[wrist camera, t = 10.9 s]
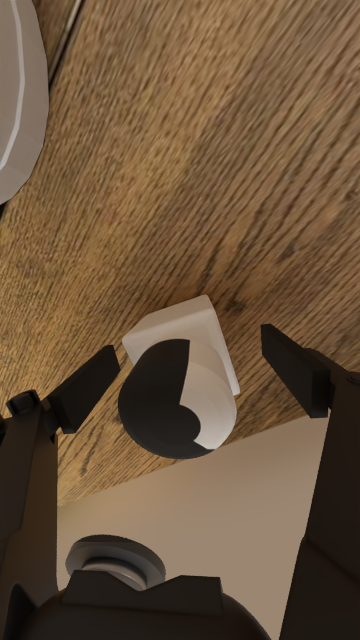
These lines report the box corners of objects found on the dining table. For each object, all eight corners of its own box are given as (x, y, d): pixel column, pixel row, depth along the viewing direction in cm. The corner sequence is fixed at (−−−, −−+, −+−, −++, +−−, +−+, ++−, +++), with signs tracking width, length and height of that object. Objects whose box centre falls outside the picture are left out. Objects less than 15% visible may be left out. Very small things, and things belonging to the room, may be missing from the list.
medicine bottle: (168, 368, 21) (136, 488, 10) (145, 314, 19) (72, 381, 8) (226, 351, 20) (269, 467, 8) (206, 293, 18) (228, 334, 7)
